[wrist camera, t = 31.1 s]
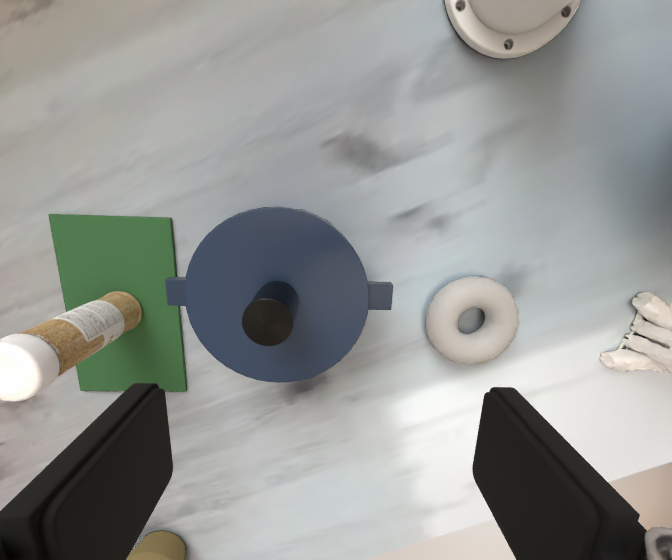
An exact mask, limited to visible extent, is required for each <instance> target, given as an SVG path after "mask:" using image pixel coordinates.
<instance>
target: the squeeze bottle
mask: <svg viewBox="0 0 672 560" xmlns="http://www.w3.org/2000/svg"><path fill="white" fill-rule="evenodd" d="M184 559H185V546H184V542H183V541H182V540H181V539H180V538H179V537H178V536H177V535H175V534H173V533H171V532H165V531H158V532H153V533H150V534H148V535H146V537H145V538H144V539H143V540H142V541H141V542H140V543H139V544H138V545H137V546H136V547H135V548H134V549H133V550H132V551H131V552H130V554H129V555H128V557H127V559H126V560H184Z"/></svg>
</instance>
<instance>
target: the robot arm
mask: <svg viewBox="0 0 672 560" xmlns="http://www.w3.org/2000/svg"><path fill="white" fill-rule="evenodd" d="M444 1H445V5H446V9H447V13H448V16H449V18H450V20H451V23H452V25H453V27H454V28H455V30H456V31H457V33H458V34H459V36H460V37H461V38H462V39H463V40H464V41H465V42H466V43H467V44H468V45H469V46H470V47H472V48H473V49H475V50H476V51H478V52H480V53H481V54H484V55H487V56H490V57H494V58H503V59H507V58H516V57H520V56H523V55H526V54H529V53H531V52H533V51H535V50H537V49H538V48H540V47H542V46H543V45H545V44H546V43H547V42H549V41H550V40H552V39H553V38H554V37H555V36H556V35H557V34H558V33H559V32H560V31H561V30H562V29H563V28H564V27H565V26H566V25H567V24H568V22H569V21H570V20H571V18H572V17H573V15H574V14H575V12H576V10H577V8H578V6H579V4H580V2H581V0H444ZM457 9H458V10H459V11H457ZM504 46H505V48H506V49H505V48H504ZM172 472H173V462H172V453H171V444H170V435H169V425H168V416H167V407H166V398H165V391H164V390H163V389H159V386H158V384H156V383H134V384H132V385H131V386H130V387H129V388H128V389H127V390H126V391H125V392H124V393H123V394H122V395H121V396H120V397H119V398H117V399H116V400H115V401H114V402H113V403H112V404H111V405H110V406H109V407H108V408H107V409H106V410H105V411H104V412H103V413H102V414H101V415H100V416H99V417H98V418H97V419H96V420H95V421H94V422H93V423H91V424H90V425H89V426H88V427H87V428H86V429H85V430H84V431H83V432H82V433H81V434H80V435H79V436H78V437H77V438H76V439H75V440H74V441H73V442H72V443H71V444H70V445H69V446H68V447H67V448H66V449H64V450H63V451H62V452H61V453H60V454H59V455H58V456H57V457H56V458H55V459H54V460H53V461H52V462H51V463H50V464H49V465H48V466H47V467H46V468H45V469H44V470H43V471H42V472H41V473H40V474H39V475H37V476H36V477H35V478H34V479H33V480H32V481H31V482H30V483H29V484H28V485H27V486H26V487H25V488H24V489H23V490H22V491H21V492H20V493H19V494H18V495H17V496H16V497H15V498H14V499H13V500H11V501H10V502H9V503H8V504H7V505H6V506H5V507H4V508H3V509H2V510H1V511H0V560H126V559H127V557H128V555H129V554H130V552H131V550H132V548H133V546H134V545H135V543H136V541H137V539H138V537H139V535H140V534H141V532H142V530H143V528H144V526H145V525H146V523H147V521H148V519H149V517H150V516H151V514H152V512H153V510H154V508H155V507H156V505H157V503H158V501H159V499H160V497H161V496H162V494H163V492H164V490H165V488H166V487H167V485H168V483H169V481H170V479H171V476H172ZM473 476H474V479H475V482H476V484H477V486H478V488H479V489H480V491H481V493H482V495H483V497H484V499H485V501H486V503H487V505H488V507H489V508H490V510H491V512H492V514H493V516H494V518H495V520H496V522H497V524H498V526H499V527H500V529H501V531H502V533H503V535H504V537H505V539H506V541H507V543H508V545H509V546H510V548H511V550H512V552H513V554H514V556H515V558H516V560H672V529H671V528H666V527H654V528H651V529H649V530H648V531H647V530H646V529H644V527H643V526H642V525H641V524H640V523H639V522H638V519H639V516H640V515H639V514H638V513H637V512H636V511H635V510H634V509H633V508H632V507H631V505H630V504H629V503H628V502H627V501H626V500H625V499H624V498H623V497H622V496H620V495H619V493H618V492H617V491H616V490H615V489H614V488H613V487H612V486H611V485H610V484H609V483H608V482H607V481H606V480H605V479H604V478H603V477H602V476H601V475H600V474H599V473H598V472H597V471H596V470H595V469H594V468H593V467H592V466H591V465H590V464H589V463H588V462H587V461H586V460H585V459H584V458H583V457H582V456H581V455H580V454H579V453H578V452H577V451H576V450H575V449H574V448H573V447H572V446H571V445H570V444H569V443H568V442H567V441H566V440H565V439H564V438H563V437H562V436H561V435H560V434H559V433H558V432H557V431H556V430H555V429H554V428H553V427H552V426H551V425H550V424H549V423H548V422H547V421H546V420H545V419H544V418H543V417H542V416H541V415H540V414H539V413H538V411H537V410H536V409H535V408H534V407H533V406H532V405H531V404H530V403H529V402H528V401H527V400H526V399H525V398H524V397H523V396H522V395H521V394H520V393H519V392H518V391H517V390H516V389H514V388H511V387H493V388H491V390H490V392H487V393H485V395H484V400H483V406H482V412H481V418H480V424H479V431H478V437H477V443H476V449H475V455H474V461H473Z"/></svg>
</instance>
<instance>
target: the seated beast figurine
mask: <svg viewBox="0 0 672 560" xmlns="http://www.w3.org/2000/svg"><path fill="white" fill-rule="evenodd" d="M632 304H633V305H634V307H635V308H636V309H637V310H638V313H637V315H636V317H635V320H634V321H633V322H632V323H633V324H634V326H630V328H631V329H632V332H631V333H630V334H626V335H625V336H626V337H627V338H628V339H624V338H623V339H622V343H621V344H620V346H619V348H618V350H616V351H613V352H604V353H600V355H601V357H600V359H601V361H602V362H603V364H604V365H606V366H607V367H610V368H615V369H617V370H625V371H630V370H641V369H647V370H656V371H658V372H668V373H671V374H672V310H671V307H670V306H669V305H667V304H665V303H664V302H663V301H662V300H660V299H659V298H658V297H657V296H655V295H654V294H652V293H650V292H642V293H639V294H638V295H637V298H633V300H632ZM644 317H645V318H646V319H647V320H648V322H646V321H644V320H643V318H644ZM635 332H637V333H638V334H639V335H643V336H645V337H646V338H643V337H641V336H635V335H633V334H634V333H635ZM624 345H626V346H627V347H626V349H622V348H623V346H624ZM629 348H631V349H629Z"/></svg>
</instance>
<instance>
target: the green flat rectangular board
mask: <svg viewBox="0 0 672 560" xmlns="http://www.w3.org/2000/svg"><path fill="white" fill-rule="evenodd" d="M49 220H50V226H51V231H52V237H53V242H54V248H55V253H56V259H57V264H58V270H59V275H60V281H61V286H62V292H63V297H64V302H65V308H66V312H68V311H70V310H72V309H75V308H77V307H79V306H82V305H84V304H86V303H89V302H91V301H95V300H98V299H100V298H102V297H104V296H105V295H106V294H108V293H110V292H115V291H122V292H126V293H129V294H131V295H132V296H133V297H135V299H136V300H138V302H139V303H140V306H141V309H142V319H141V321H140V322H139V324H138V325H137V326H136V327H135V328H133V329H131V330H128V331H126V332H125V333H123V334H122V335H120V336H119V337H118V338H117V339H116V340H114V341H112V342H111V343H109V344H108V345H106V346H105V347H103V348H102V349H100V350H99V351H97V352H96V353H94V354H93V355H91V356H90V357H88V358H86V359H85V360H83V361H81V362H79V363H78V364H76V368H77V374H78V379H79V385H80V390H81V391H126V390H127V389H128V388H129V387H130V386H131V385H132V384H134V383H156V384H158V386H159V389H163V390H164V391H169V392H186V391H187V383H186V372H185V361H184V350H183V339H182V328H181V317H180V306H169V305H167V296H166V286H165V279H167V278H169V277H177V273H176V262H175V251H174V240H173V229H172V218H159V217H126V216H93V215H60V214H49Z"/></svg>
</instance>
